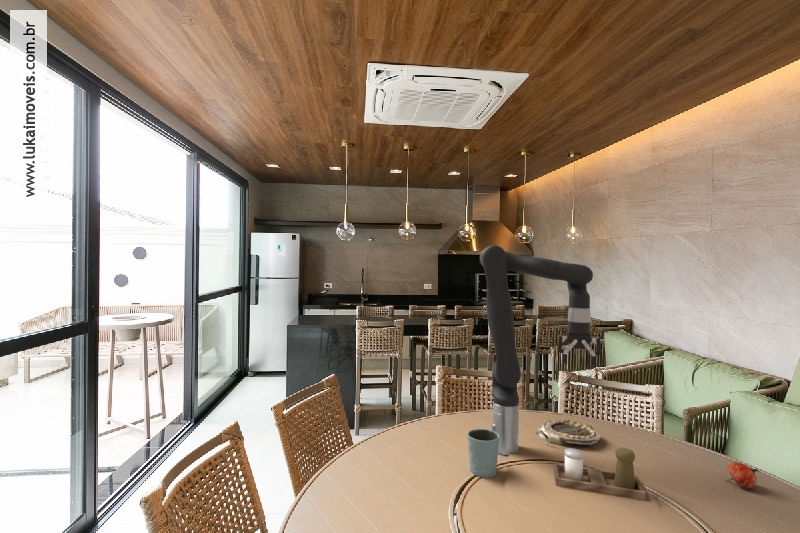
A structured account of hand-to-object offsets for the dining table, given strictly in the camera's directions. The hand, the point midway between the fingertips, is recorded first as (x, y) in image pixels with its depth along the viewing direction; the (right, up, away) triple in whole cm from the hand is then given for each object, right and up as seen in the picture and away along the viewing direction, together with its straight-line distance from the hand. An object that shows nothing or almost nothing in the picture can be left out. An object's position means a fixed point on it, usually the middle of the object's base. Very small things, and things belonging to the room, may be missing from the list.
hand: (578, 365), depth 146 cm
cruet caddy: (-4, -32, -22) cm, 39 cm away
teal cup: (-37, -31, -14) cm, 51 cm away
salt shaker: (-11, -31, -20) cm, 38 cm away
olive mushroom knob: (+4, -31, -24) cm, 39 cm away
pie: (+4, -33, +14) cm, 36 cm away
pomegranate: (+41, -33, -20) cm, 57 cm away
